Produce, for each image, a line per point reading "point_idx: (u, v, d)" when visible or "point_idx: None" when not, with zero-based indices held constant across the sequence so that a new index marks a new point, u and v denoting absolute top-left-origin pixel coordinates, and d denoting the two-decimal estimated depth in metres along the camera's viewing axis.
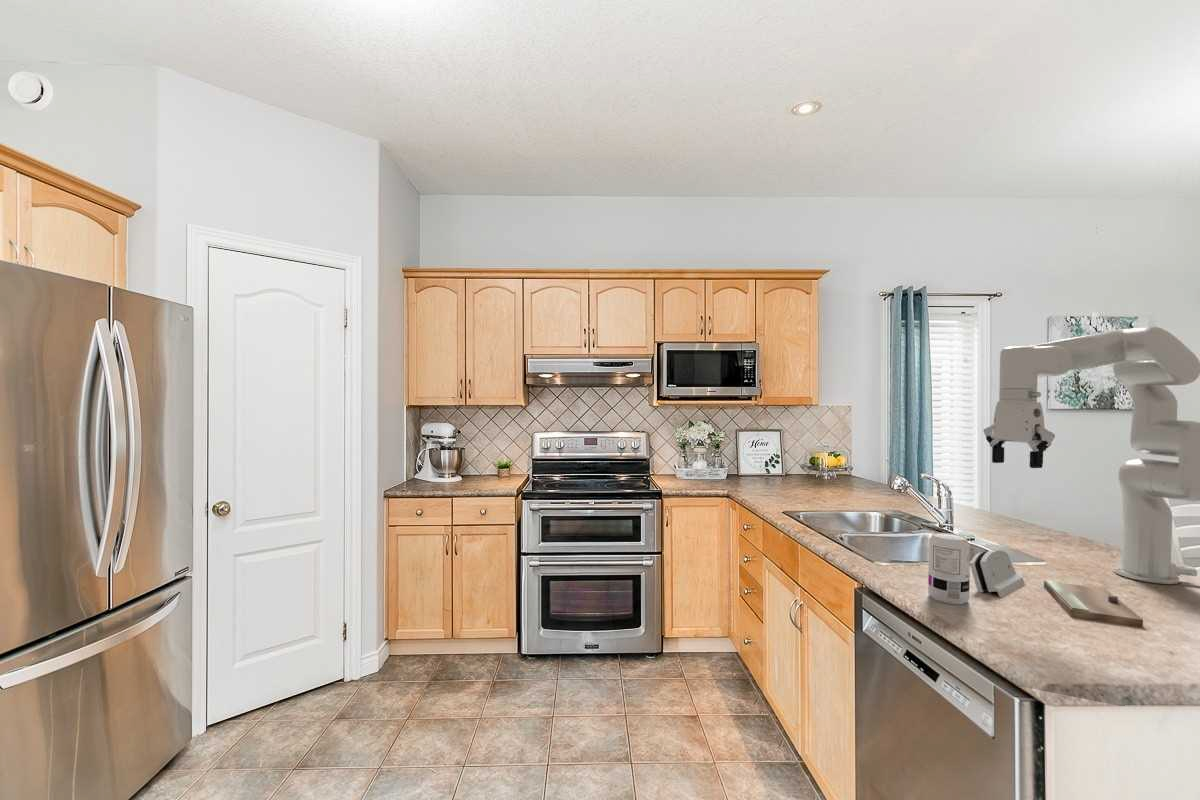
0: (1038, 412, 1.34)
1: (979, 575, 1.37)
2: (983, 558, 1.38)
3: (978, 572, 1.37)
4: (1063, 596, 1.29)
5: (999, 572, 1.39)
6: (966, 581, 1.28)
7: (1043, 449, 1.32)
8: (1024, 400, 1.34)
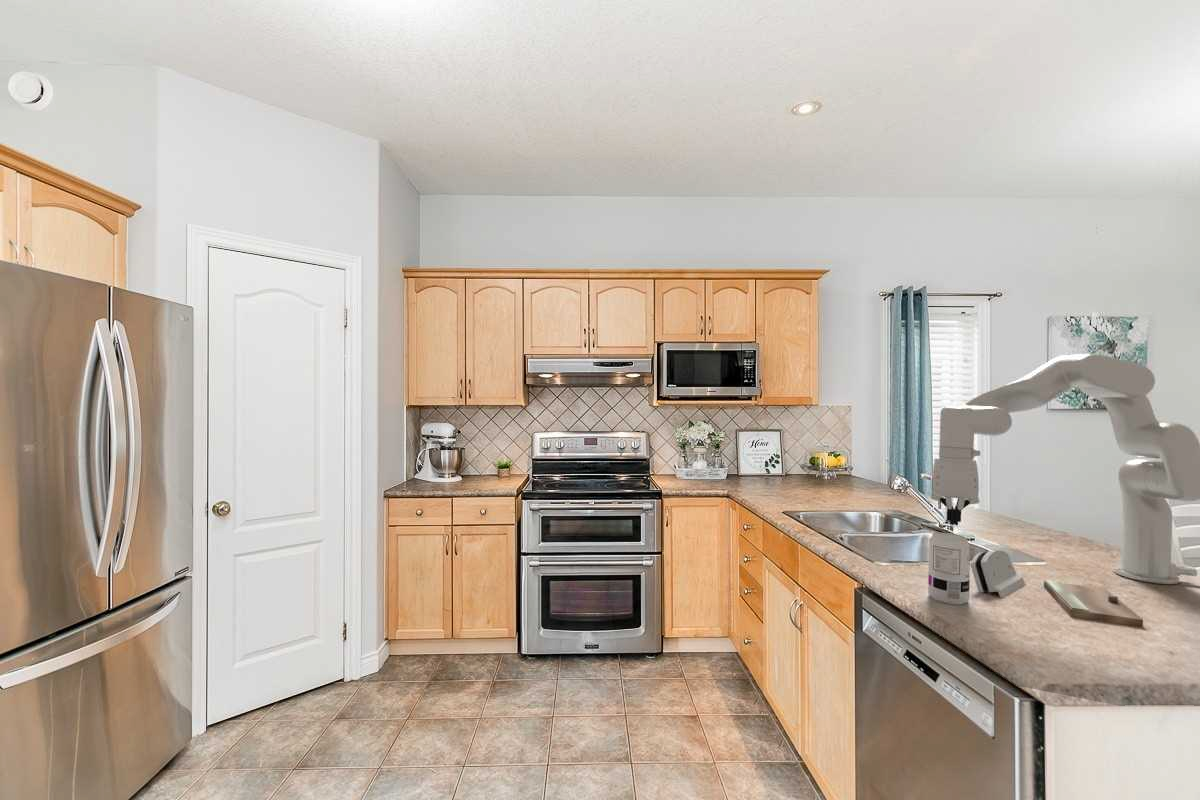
0: None
1: (980, 575, 1.37)
2: (983, 558, 1.38)
3: (979, 572, 1.37)
4: (1063, 596, 1.29)
5: (999, 572, 1.39)
6: (966, 581, 1.28)
7: None
8: (971, 459, 1.41)
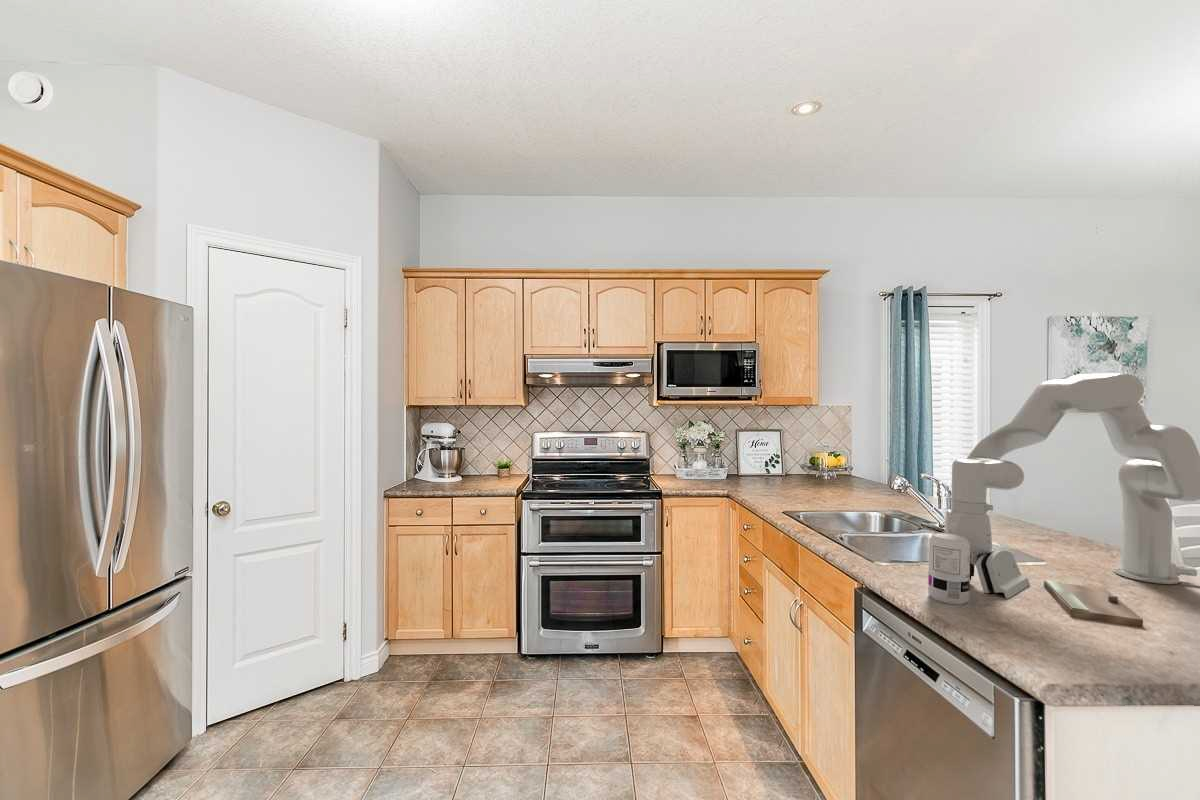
0: None
1: (985, 576, 1.36)
2: (989, 558, 1.37)
3: (984, 573, 1.36)
4: (1063, 596, 1.29)
5: (1005, 572, 1.38)
6: (966, 581, 1.28)
7: None
8: (984, 514, 1.40)
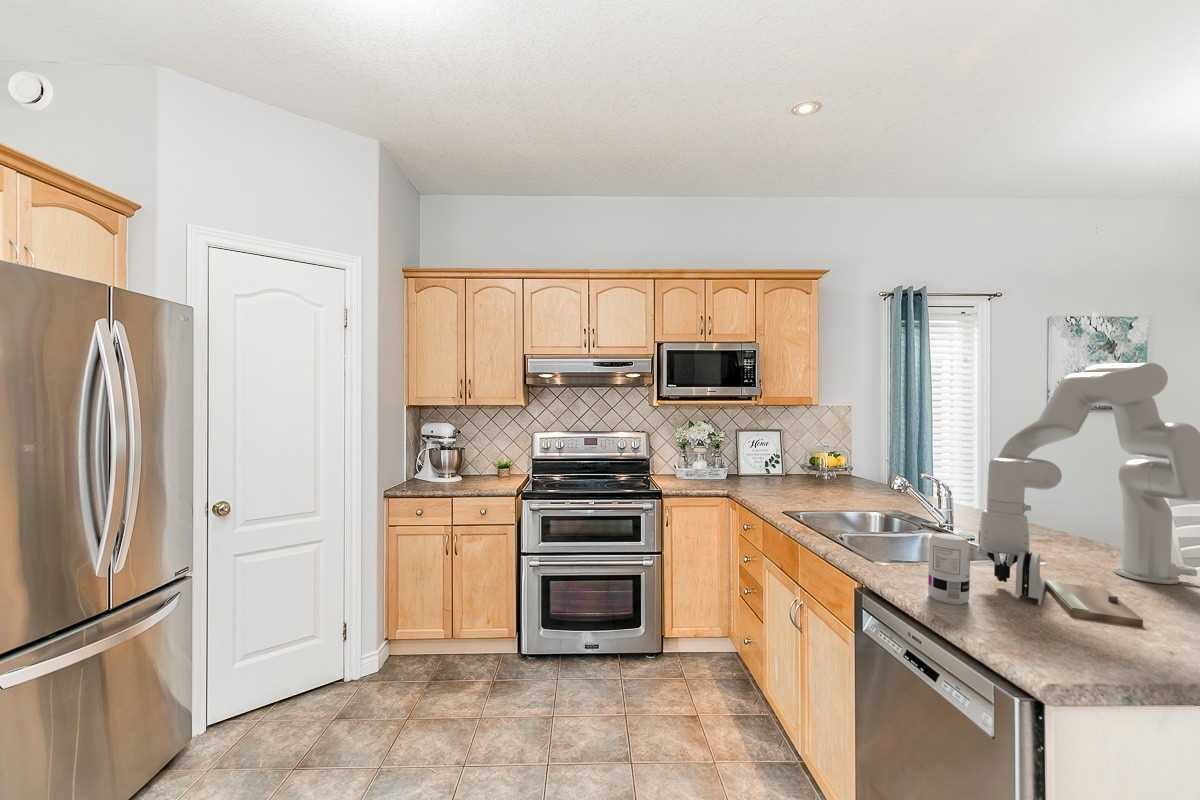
0: None
1: (1023, 578, 1.30)
2: (1032, 562, 1.31)
3: (1023, 575, 1.30)
4: (1063, 596, 1.29)
5: (1037, 577, 1.33)
6: (966, 581, 1.28)
7: None
8: (1022, 514, 1.36)
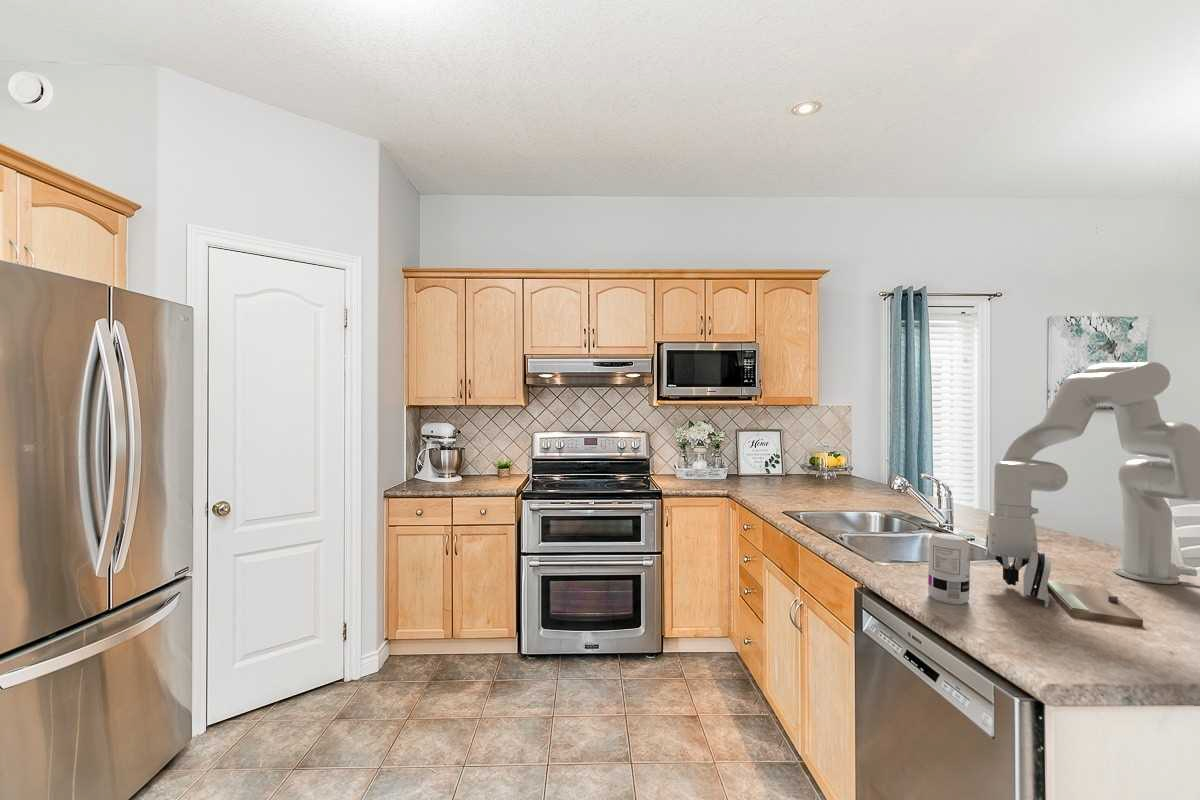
0: None
1: (1035, 579, 1.28)
2: (1046, 564, 1.29)
3: (1035, 576, 1.28)
4: (1063, 596, 1.29)
5: None
6: (966, 581, 1.28)
7: None
8: (1029, 517, 1.36)
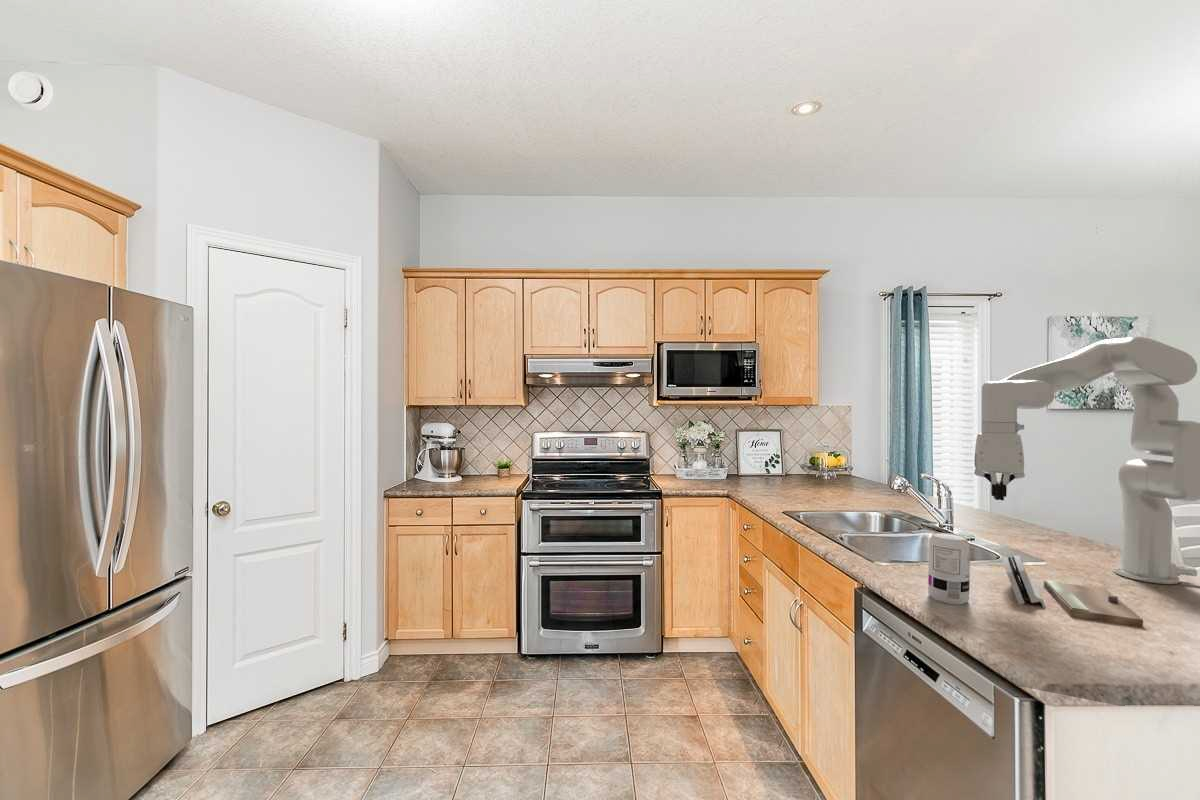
0: None
1: (1019, 585, 1.30)
2: (1019, 567, 1.31)
3: (1017, 582, 1.30)
4: (1063, 596, 1.29)
5: (1028, 579, 1.34)
6: (966, 581, 1.28)
7: None
8: (1016, 433, 1.41)
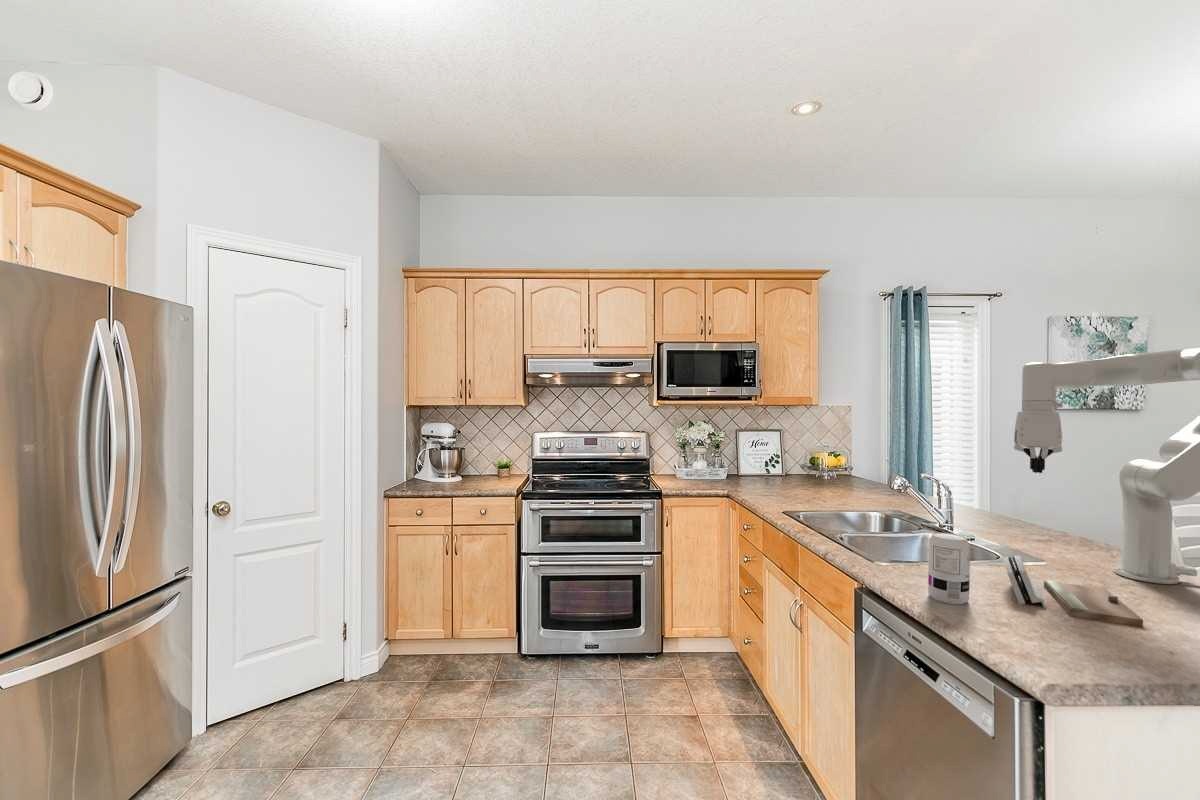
0: None
1: (1019, 586, 1.30)
2: (1019, 567, 1.31)
3: (1018, 582, 1.30)
4: (1063, 596, 1.29)
5: None
6: (966, 581, 1.28)
7: None
8: None
